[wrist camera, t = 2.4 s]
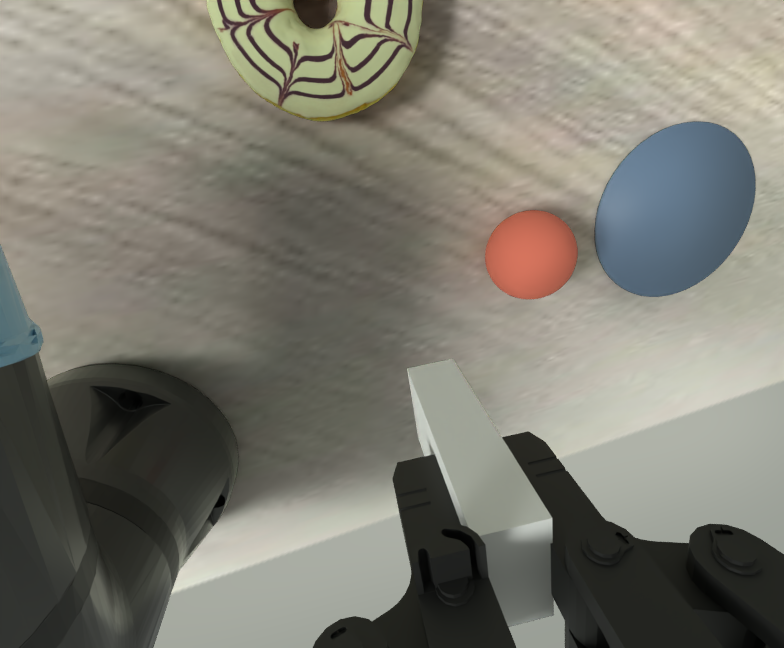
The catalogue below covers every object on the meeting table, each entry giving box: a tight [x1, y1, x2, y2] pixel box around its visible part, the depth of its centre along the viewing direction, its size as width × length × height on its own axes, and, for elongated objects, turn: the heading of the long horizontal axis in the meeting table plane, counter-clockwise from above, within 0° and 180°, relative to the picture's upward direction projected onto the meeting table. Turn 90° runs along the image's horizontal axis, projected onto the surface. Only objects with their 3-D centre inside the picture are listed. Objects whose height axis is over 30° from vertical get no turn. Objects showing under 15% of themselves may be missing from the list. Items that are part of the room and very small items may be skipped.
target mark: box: [595, 122, 755, 297], centre depth 31 cm, size 12×12×1 cm
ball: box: [485, 210, 578, 299], centre depth 27 cm, size 6×6×6 cm
